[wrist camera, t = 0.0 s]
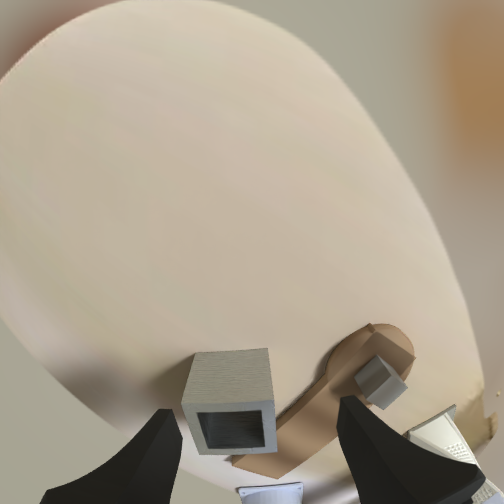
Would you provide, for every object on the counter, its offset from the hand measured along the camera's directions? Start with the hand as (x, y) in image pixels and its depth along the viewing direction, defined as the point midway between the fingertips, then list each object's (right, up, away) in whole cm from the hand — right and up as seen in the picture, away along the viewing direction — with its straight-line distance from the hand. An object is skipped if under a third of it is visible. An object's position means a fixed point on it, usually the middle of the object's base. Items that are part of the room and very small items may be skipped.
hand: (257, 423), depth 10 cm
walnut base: (+6, -8, +13) cm, 16 cm away
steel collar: (-2, -3, +11) cm, 12 cm away
